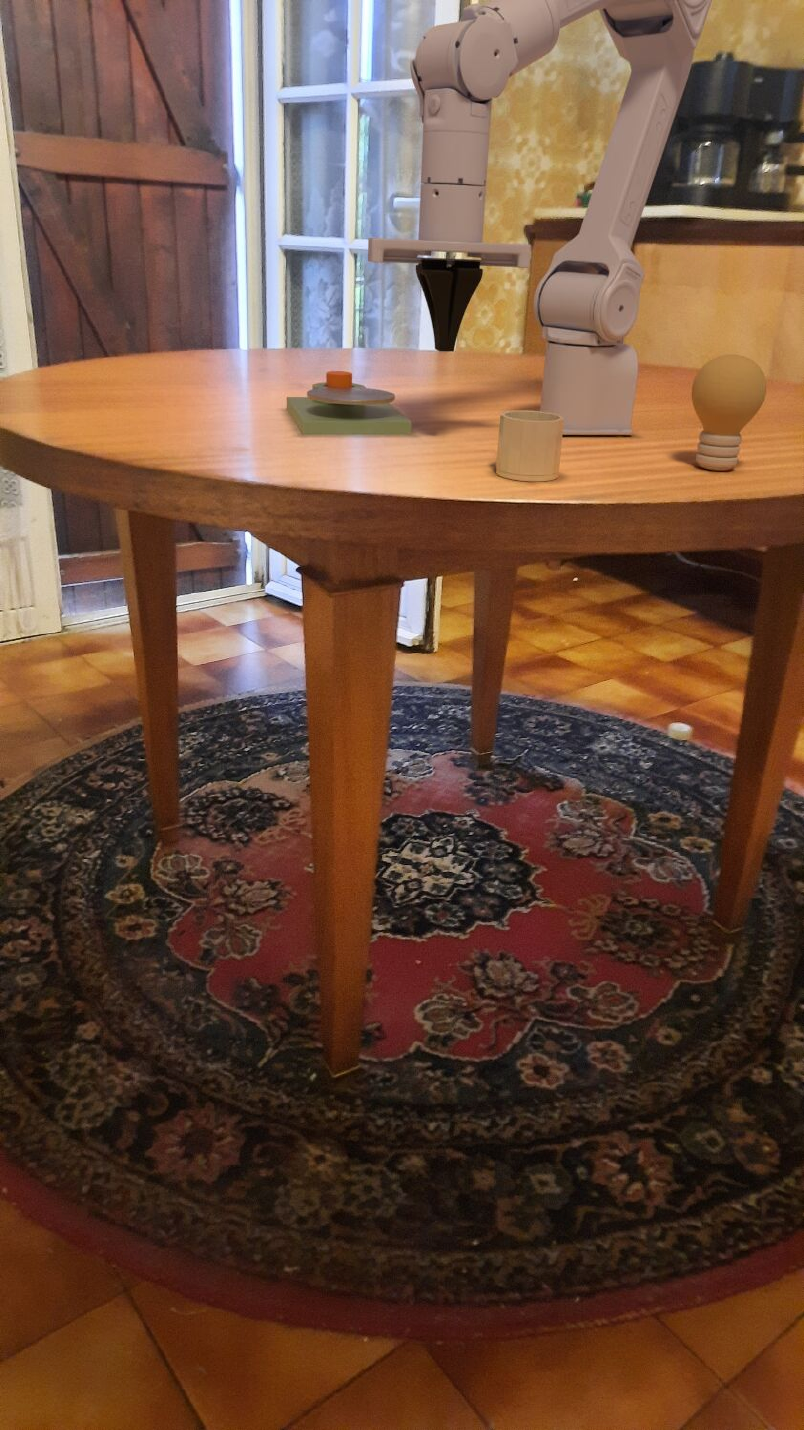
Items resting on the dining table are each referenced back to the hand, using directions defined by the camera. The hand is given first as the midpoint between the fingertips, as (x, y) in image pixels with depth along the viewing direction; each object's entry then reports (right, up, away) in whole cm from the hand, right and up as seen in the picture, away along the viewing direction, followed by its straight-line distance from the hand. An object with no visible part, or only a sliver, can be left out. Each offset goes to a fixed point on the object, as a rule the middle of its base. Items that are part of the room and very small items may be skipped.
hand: (444, 350), depth 95 cm
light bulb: (+25, -11, 0) cm, 27 cm away
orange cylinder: (-11, +2, +17) cm, 20 cm away
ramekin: (+7, -13, -6) cm, 16 cm away
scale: (-10, -3, +14) cm, 17 cm away
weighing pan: (-9, -1, +10) cm, 13 cm away
